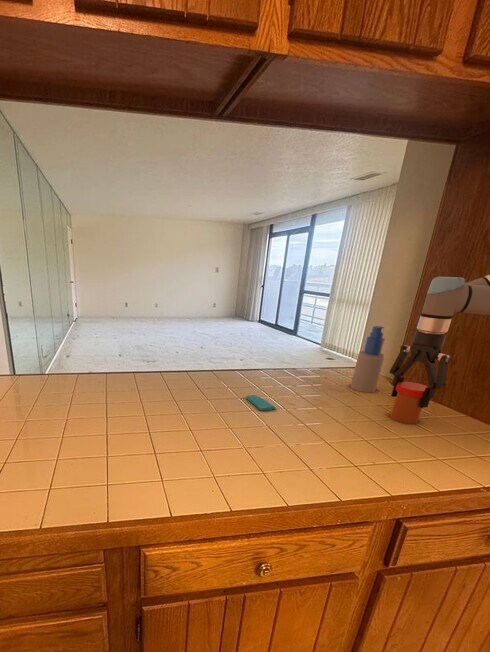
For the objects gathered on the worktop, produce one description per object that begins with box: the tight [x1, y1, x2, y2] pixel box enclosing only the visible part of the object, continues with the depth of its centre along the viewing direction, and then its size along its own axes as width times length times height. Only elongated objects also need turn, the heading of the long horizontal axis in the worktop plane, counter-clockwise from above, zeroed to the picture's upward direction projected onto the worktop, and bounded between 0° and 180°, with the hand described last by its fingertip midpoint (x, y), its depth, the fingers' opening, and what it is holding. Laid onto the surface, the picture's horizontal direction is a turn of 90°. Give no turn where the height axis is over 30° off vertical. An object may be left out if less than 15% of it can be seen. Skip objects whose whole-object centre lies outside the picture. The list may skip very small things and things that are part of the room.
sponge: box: [246, 394, 276, 411], centre depth 123 cm, size 2×12×6 cm
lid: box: [396, 381, 428, 398], centre depth 110 cm, size 9×9×2 cm
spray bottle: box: [350, 325, 385, 393], centre depth 136 cm, size 9×9×25 cm
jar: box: [389, 392, 423, 425], centre depth 112 cm, size 8×8×11 cm
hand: (408, 401), depth 112 cm, fingers closed on lid, 9 cm apart
